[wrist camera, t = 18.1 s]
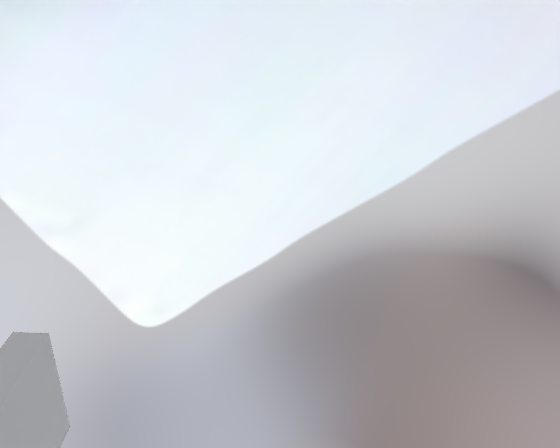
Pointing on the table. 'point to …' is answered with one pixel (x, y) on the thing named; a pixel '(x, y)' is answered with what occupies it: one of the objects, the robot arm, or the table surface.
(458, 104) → the table surface
